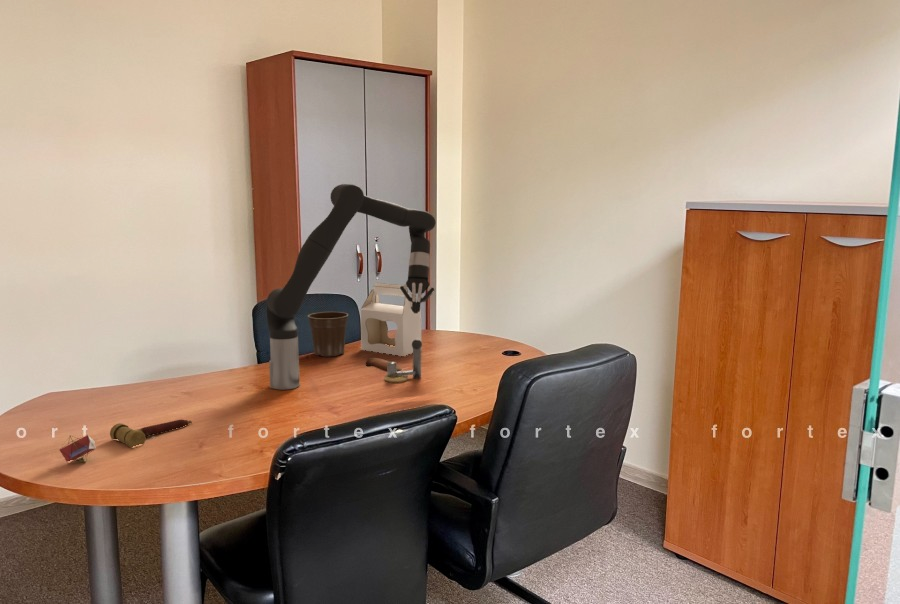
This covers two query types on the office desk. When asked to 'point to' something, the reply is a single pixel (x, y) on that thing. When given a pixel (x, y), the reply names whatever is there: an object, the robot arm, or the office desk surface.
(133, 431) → the gavel
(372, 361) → the sunglasses case
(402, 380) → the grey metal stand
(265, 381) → the office desk surface
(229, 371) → the office desk surface
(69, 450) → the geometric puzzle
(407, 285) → the robot arm
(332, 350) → the plant pot
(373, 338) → the gable box
